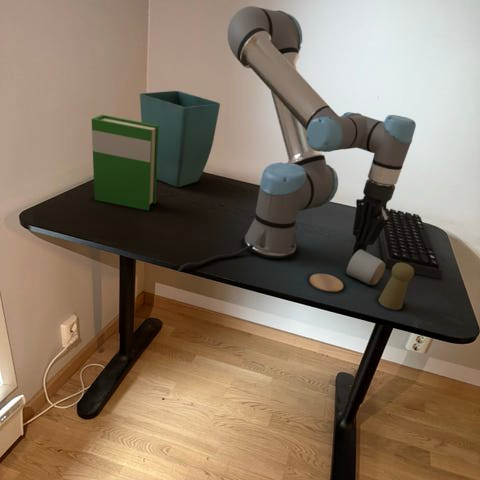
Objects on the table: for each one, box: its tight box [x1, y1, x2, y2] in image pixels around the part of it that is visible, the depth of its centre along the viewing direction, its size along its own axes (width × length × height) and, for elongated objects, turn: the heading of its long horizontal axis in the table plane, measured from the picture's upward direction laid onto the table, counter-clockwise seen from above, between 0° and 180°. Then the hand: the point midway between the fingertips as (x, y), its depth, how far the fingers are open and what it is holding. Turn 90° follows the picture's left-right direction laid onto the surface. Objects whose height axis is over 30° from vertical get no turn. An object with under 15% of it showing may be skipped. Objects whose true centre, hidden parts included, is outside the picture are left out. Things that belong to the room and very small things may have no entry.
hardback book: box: [91, 114, 159, 211], centre depth 139 cm, size 18×7×24 cm, turn 81°
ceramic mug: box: [346, 249, 387, 286], centre depth 123 cm, size 11×8×8 cm
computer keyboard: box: [378, 207, 443, 280], centre depth 150 cm, size 45×16×4 cm, turn 169°
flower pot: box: [139, 90, 221, 188], centre depth 161 cm, size 20×20×28 cm
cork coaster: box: [309, 273, 344, 293], centre depth 119 cm, size 9×9×1 cm
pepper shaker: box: [378, 263, 415, 311], centre depth 113 cm, size 6×6×11 cm
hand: (355, 262), depth 129 cm, fingers closed
